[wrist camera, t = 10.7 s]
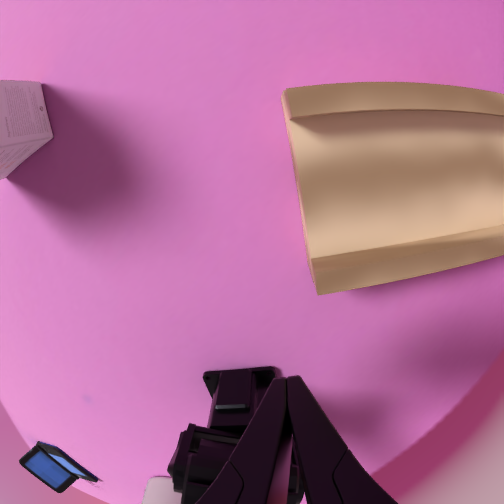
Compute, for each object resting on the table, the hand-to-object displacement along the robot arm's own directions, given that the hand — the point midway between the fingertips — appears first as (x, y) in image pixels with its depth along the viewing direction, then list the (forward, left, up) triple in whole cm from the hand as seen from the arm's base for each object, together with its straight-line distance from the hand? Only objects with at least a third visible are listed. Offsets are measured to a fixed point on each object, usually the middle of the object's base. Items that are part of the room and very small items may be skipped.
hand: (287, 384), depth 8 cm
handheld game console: (-46, +57, -13) cm, 75 cm away
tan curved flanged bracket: (+4, -10, -12) cm, 16 cm away
